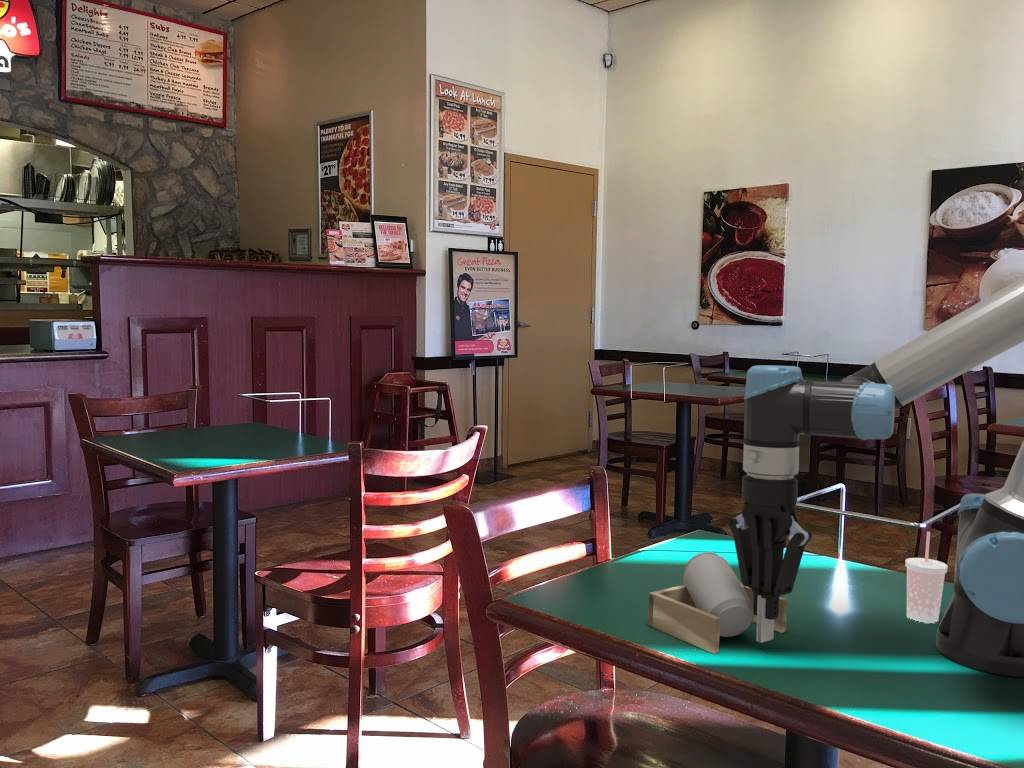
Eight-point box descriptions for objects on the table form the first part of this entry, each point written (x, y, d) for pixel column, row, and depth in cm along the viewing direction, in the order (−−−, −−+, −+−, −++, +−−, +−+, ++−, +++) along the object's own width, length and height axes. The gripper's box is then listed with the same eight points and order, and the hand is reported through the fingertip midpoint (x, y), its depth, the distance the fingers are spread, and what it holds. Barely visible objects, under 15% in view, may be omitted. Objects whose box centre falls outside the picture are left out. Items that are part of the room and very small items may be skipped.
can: (754, 636, 128) (722, 581, 139) (761, 598, 125) (727, 544, 135) (706, 644, 127) (677, 588, 137) (711, 606, 124) (681, 551, 134)
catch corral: (718, 606, 142) (720, 576, 142) (785, 631, 132) (787, 599, 131) (647, 624, 133) (649, 592, 132) (713, 653, 122) (715, 619, 122)
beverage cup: (948, 627, 136) (955, 538, 134) (906, 623, 137) (912, 535, 136) (937, 613, 142) (944, 528, 140) (897, 610, 143) (903, 525, 142)
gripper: (717, 471, 126) (712, 632, 127) (791, 483, 116) (786, 658, 117) (750, 467, 130) (746, 623, 132) (825, 479, 120) (819, 647, 122)
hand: (764, 639), depth 124 cm, fingers closed
